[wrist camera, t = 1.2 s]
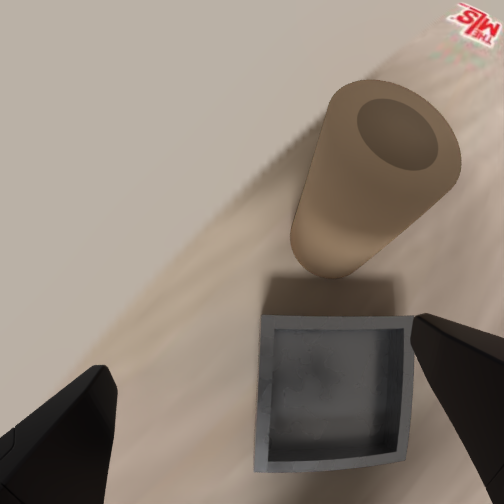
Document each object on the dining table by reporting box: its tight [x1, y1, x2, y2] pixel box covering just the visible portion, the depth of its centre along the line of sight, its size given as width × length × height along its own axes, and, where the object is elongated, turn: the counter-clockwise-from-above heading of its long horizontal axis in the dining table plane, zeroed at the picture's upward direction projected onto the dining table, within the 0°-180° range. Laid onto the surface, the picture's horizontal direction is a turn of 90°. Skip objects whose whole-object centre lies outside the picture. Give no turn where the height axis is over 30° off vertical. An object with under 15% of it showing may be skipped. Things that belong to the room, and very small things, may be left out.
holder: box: [254, 315, 414, 473], centre depth 19 cm, size 10×10×3 cm
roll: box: [290, 80, 461, 279], centre depth 17 cm, size 6×6×13 cm
